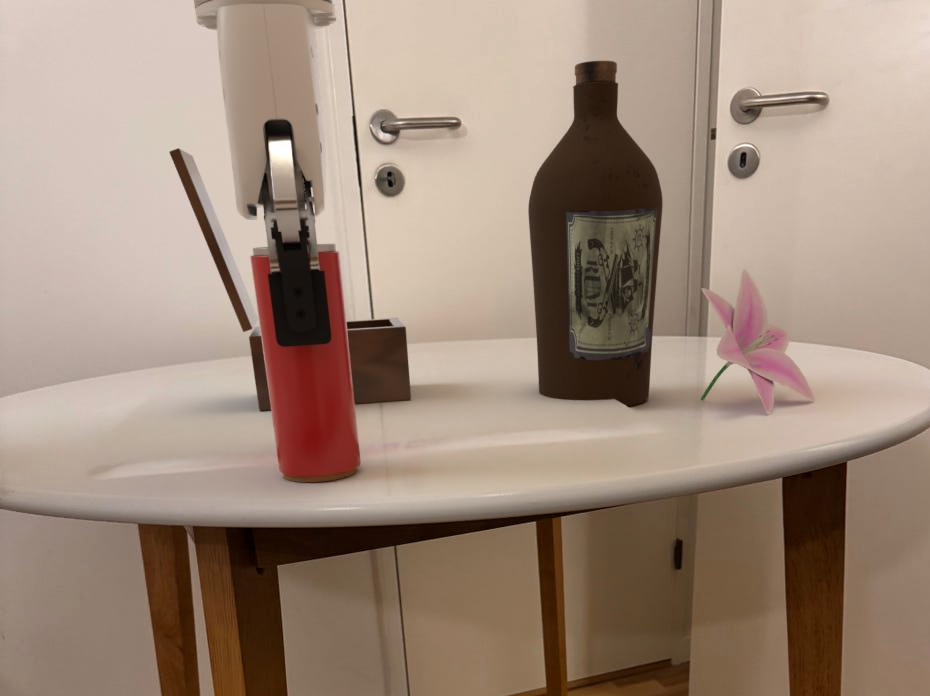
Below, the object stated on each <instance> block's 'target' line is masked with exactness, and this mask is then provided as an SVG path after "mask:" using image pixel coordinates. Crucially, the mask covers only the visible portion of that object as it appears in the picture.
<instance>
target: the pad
mask: <svg viewBox="0 0 930 696" xmlns="http://www.w3.org/2000/svg"><path fill="white" fill-rule="evenodd" d="M357 471H358V467H357V468H355V469H353V470H351V471H348V472H344V473H340V474H335V475H328V476H318V477H297V476H290V475H286V474H283V473H282V475H283V478H284V479H286V480H287V481H290V482H297V483H321V482H323V483H324V482H330V481H336V480H340V479H344V478H347V477H350V476H353V475H354V474H356V472H357Z"/></svg>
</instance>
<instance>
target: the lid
mask: <svg viewBox="0 0 930 696" xmlns="http://www.w3.org/2000/svg"><path fill="white" fill-rule="evenodd" d="M169 155H170V158H171V160H172V162H173V164H174V167H175V169H176V173H177V174H178V177H179V179H180V182H181V184H182V187H183V189H184V192H185V194H186V196H187V199H188V201H189V204H190V206H191V208H192V211H193V214H194V216H195V218H196V221H197V223H198V225H199V228H200V231H201V233H202V235H203V238H204V240H205V243H206V245H207V248H208V250H209V253H210V254H211V257H212V260H213V263H214V265H215V267H216V269H217V272H218V274H219V277H220V279H221V281H222V284H223V286H224V289H225V291H226V294H227V296H228V298H229V301H230V303H231V306H232V308H233V311H234V313H235V316H236V318H237V320H238V322H239V325H240V328H241V331H242V332H243V333H245V332H248V331H251V330H253V329H254V328H255V325H256V324H257V322H258V321H259V317H258V314H257V313H256V310H255V308H254V305H253V302H252V301H251V298H250V296H249V293H248V290H247V288H246V286H245V282H244V281H243V278H242V276H241V273H240V270H239V268H238V266H237V263H236V261H235V258H234V255H233V253H232V251H231V248H230V246H229V243H228V241H227V239H226V235H225V233H224V231H223V228H222V226H221V223H220V220H219V218H218V216H217V213H216V211H215V208H214V206H213V204H212V201H211V199H210V196H209V193H208V191H207V189H206V187H205V184H204V180H203V179H202V176H201V173H200V171H199V169H198V165H197V164H196V162H195V159H194V156H193V155H191V154H190V153H188V152H187V151H184V150H183V149H181V148H176V149H172V150H170V151H169Z"/></svg>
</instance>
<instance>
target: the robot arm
mask: <svg viewBox="0 0 930 696" xmlns="http://www.w3.org/2000/svg"><path fill="white" fill-rule="evenodd" d="M193 3H194V10H195V17H196V18H195V19H196V23H197V25H199V26H201V27H202V28H206V29H209V30H212V31H217V33H216V34H217V49H218V61H219V62H218V63H219V72H220V82H221V89H222V91H221V92H222V98H223V106H224V114H225V121H226V129H227V136H228V145H229V152H230V161H231V169H232V177H233V185H234V195H235V204H236V210H237V211H236V212H237V213H238V215H240V216H241V217H243V218H244V219H245V220H249V221H257V220H258V208H263V214H264V215H263V221H264V225H265V233H266V234H265V235H266V243H267V247H268V252H269V261H270V268H271V274H268V281H269V288H270V296H271V303H272V311H273V319H274V326H275V334H276V341H277V343H278V344H279V345H280V346H282V347H288V346H303V345H318V344H327V343H329V342H330V341H331V328H330V318H329V309H328V300H327V291H326V282H325V272H324V270H323V271H320V267H319V258H318V249H317V244H318V239H317V232H316V231H317V229H316V217H318V216H320V215H321V214H322V213H323V212H324V211H325V210H326V209H325V208H326V190H327V189H326V188H327V187H326V186H327V184H326V183H327V163H326V161H327V160H326V159H327V158H326V142H325V141H326V140H325V139H326V138H325V137H326V135H325V124H324V111H323V110H324V109H323V98H322V97H323V96H322V86H321V74H320V66H319V65H320V64H319V55H318V54H319V53H318V45H317V33H316V30H318V29H322V28H325V27H329V26H330V25H331V24H332V25H333V24H334V23H335V22H337V11H336V4H335V0H193ZM307 244H308V248H307ZM308 250H309V256H308ZM309 263H310V264H309ZM310 267H311V271H310ZM280 268H281V269H280Z"/></svg>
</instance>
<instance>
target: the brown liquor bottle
mask: <svg viewBox="0 0 930 696" xmlns="http://www.w3.org/2000/svg"><path fill="white" fill-rule="evenodd" d="M617 71H618V63H617V62H616V61H614V60H590V61H583V62H579V63H577V64H575V65H574V76H575V85H573V86H572V89H573V91H572V92H573V94H572V95H573V119H572V123H571V124H570V126H569V128H568V129H567V131H566V132H565V134H564V135H563V136H562V137H561V139H560V140H559V142H558V143H557V144H556V146H554V148H553V150H551V152H549V155H548V156H547V157H546V158H545V159H544V161H543V162H542V164H541V166H540V167H539V168H538V170H537V172H536V174H535V176H534V179H533V182H532V186H531V190H530V193H529V200H528V209H527V210H528V227H529V240H530V241H529V242H530V255H531V269H532V270H531V271H532V285H533V299H534V315H535V316H534V317H535V330H536V331H535V332H536V333H535V334H536V350H537V351H536V352H537V353H536V354H537V372H538V373H537V375H538V376H537V377H538V392H539V393H538V394H539V395H541V396H543V397H545V398H549V399H550V398H551V399H556V400H565V401H606V400H615V401H617V402H618V403H620V404H622V405H625V407H631V406H636V405H639V404H642V403H645V402H646V401H647V400H648V399H649V397H650V385H651V384H650V382H651V366H652V348H653V331H654V318H655V307H656V305H655V304H656V293H657V280H658V277H657V276H658V265H659V255H660V254H659V253H660V244H661V243H660V242H661V241H660V240H661V230H662V219H663V204H664V203H663V201H664V200H663V192H662V187H661V183H660V179H659V175H658V171H657V169H656V167H655V165H654V164H653V162H652V161H651V159H650V158H649V157H648V155H647V154H646V152H644V150H643V149H642V148H641V147H640V146H639V144H638V143H637V141H635V139H633V137H632V136H631V135H630V134H629V132H628V131H627V130H626V129H625V128H624V126H623V125H622V124H621V121H620V120H619V118H618V104H619V103H618V101H619V100H618V98H619V83H618V82H616V78H617V76H616V75H617V73H618V72H617Z"/></svg>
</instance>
